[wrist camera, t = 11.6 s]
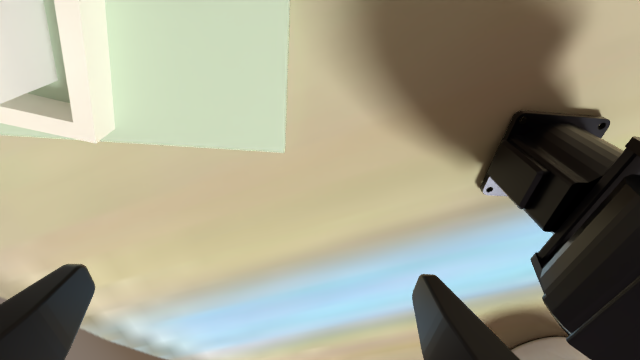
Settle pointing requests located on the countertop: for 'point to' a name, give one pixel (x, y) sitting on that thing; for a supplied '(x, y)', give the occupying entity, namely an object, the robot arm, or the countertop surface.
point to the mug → (548, 350)
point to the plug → (24, 48)
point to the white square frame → (74, 79)
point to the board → (189, 73)
